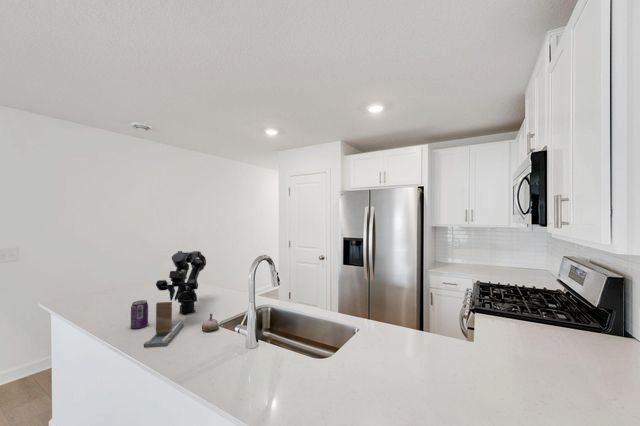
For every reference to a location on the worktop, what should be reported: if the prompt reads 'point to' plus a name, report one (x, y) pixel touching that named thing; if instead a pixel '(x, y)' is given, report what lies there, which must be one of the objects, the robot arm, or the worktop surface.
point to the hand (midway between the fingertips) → (173, 300)
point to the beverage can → (139, 314)
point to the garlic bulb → (210, 324)
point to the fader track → (164, 337)
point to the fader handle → (163, 318)
